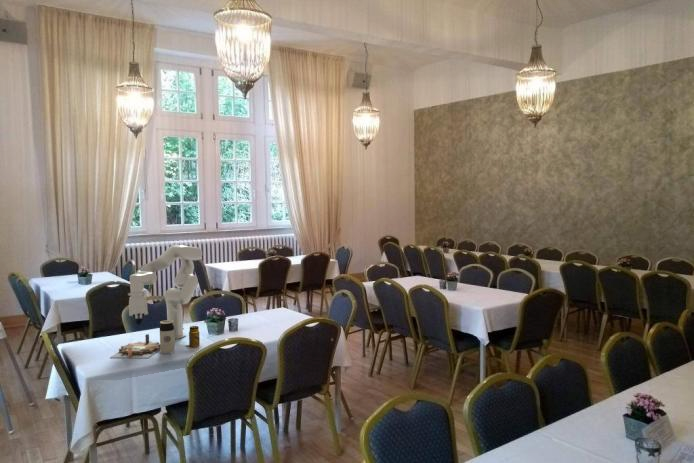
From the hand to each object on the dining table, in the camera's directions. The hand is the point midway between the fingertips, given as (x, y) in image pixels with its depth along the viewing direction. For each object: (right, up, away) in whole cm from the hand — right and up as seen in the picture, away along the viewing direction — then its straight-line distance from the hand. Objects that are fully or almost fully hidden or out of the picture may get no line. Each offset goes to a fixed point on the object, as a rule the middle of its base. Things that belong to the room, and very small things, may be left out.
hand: (139, 324), depth 327 cm
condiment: (+32, -14, +2) cm, 35 cm away
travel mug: (+20, -15, -10) cm, 27 cm away
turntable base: (+3, -14, -9) cm, 17 cm away
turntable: (+3, -14, -7) cm, 16 cm away
